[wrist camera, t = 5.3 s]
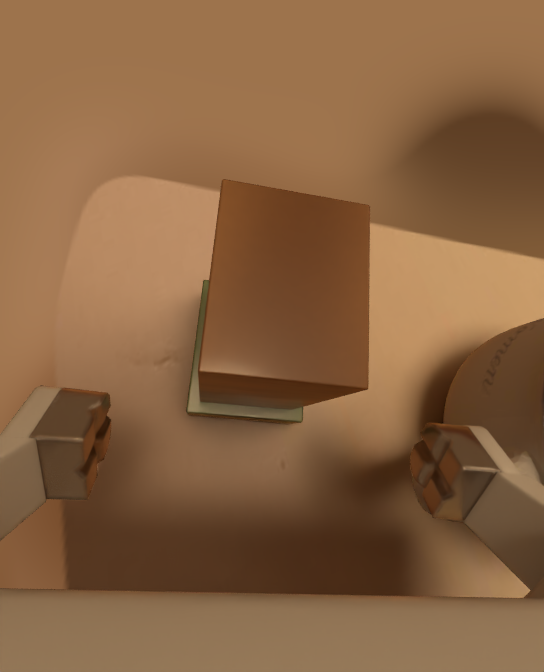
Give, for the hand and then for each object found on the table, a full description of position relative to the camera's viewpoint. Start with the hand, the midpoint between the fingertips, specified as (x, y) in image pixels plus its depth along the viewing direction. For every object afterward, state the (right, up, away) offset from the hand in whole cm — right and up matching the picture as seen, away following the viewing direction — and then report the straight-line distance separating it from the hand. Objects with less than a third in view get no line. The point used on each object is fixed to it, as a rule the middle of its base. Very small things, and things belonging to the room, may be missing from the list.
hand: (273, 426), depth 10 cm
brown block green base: (-1, +1, +9) cm, 9 cm away
